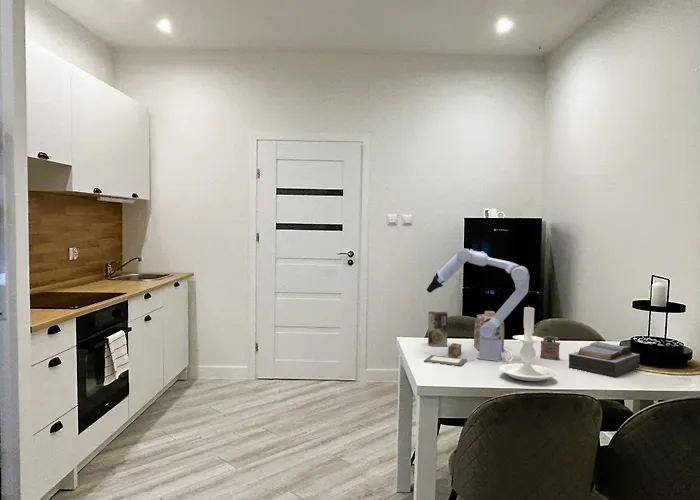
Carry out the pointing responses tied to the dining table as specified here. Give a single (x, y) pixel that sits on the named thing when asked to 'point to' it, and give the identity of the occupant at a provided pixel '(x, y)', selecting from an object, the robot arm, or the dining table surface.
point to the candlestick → (527, 354)
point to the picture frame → (446, 360)
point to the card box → (454, 350)
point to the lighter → (550, 348)
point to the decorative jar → (481, 321)
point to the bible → (604, 359)
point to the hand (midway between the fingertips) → (429, 289)
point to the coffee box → (437, 329)
